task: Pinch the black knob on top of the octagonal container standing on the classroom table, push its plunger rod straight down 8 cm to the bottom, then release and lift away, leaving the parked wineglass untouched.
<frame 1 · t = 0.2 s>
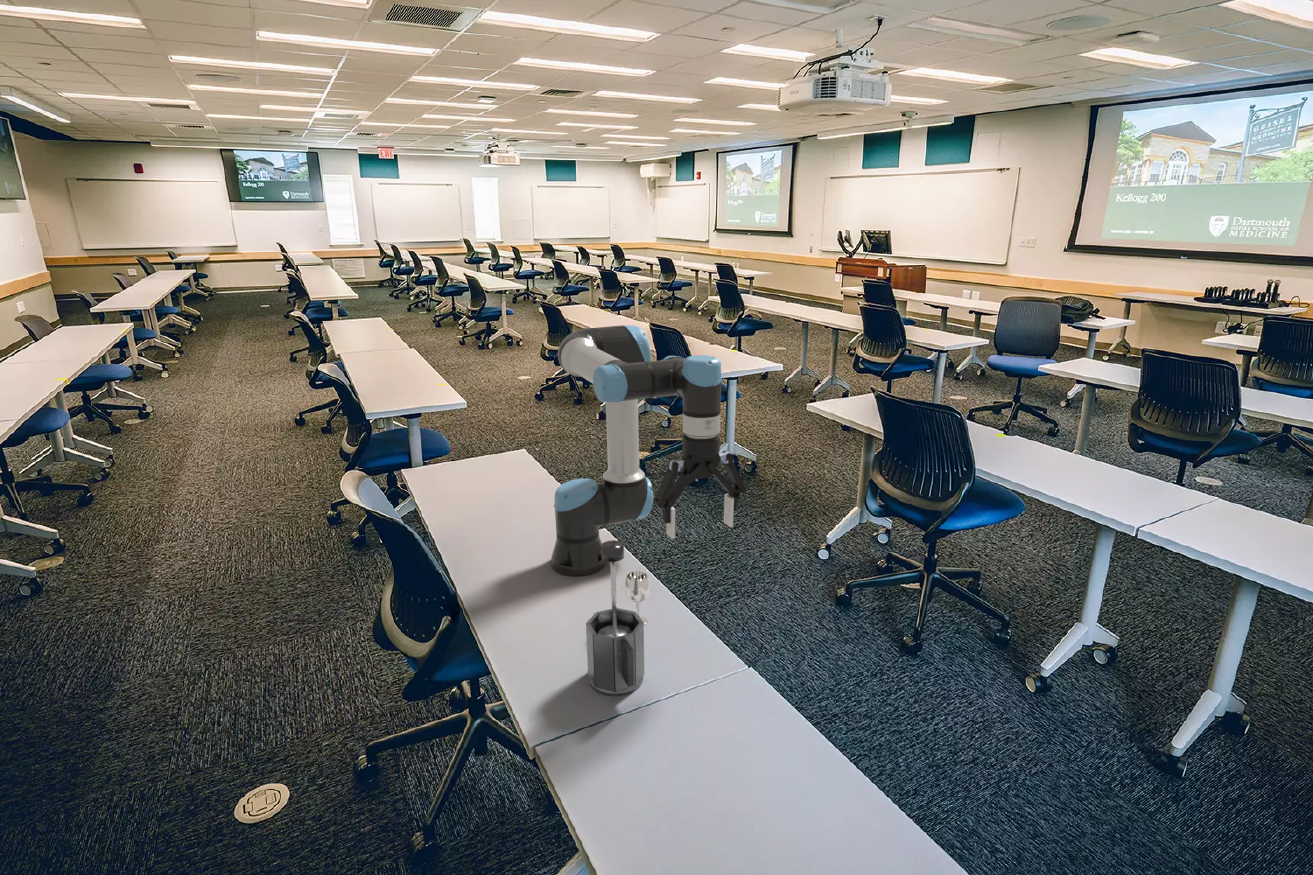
hand: (700, 530, 144), 28 cm above the table, fingers open, 13 cm apart
wineglass: (637, 622, 162), on the table
octagonal container: (616, 678, 142), on the table
plunger: (613, 592, 136), point 20 cm above the table, slide at 0.0 cm
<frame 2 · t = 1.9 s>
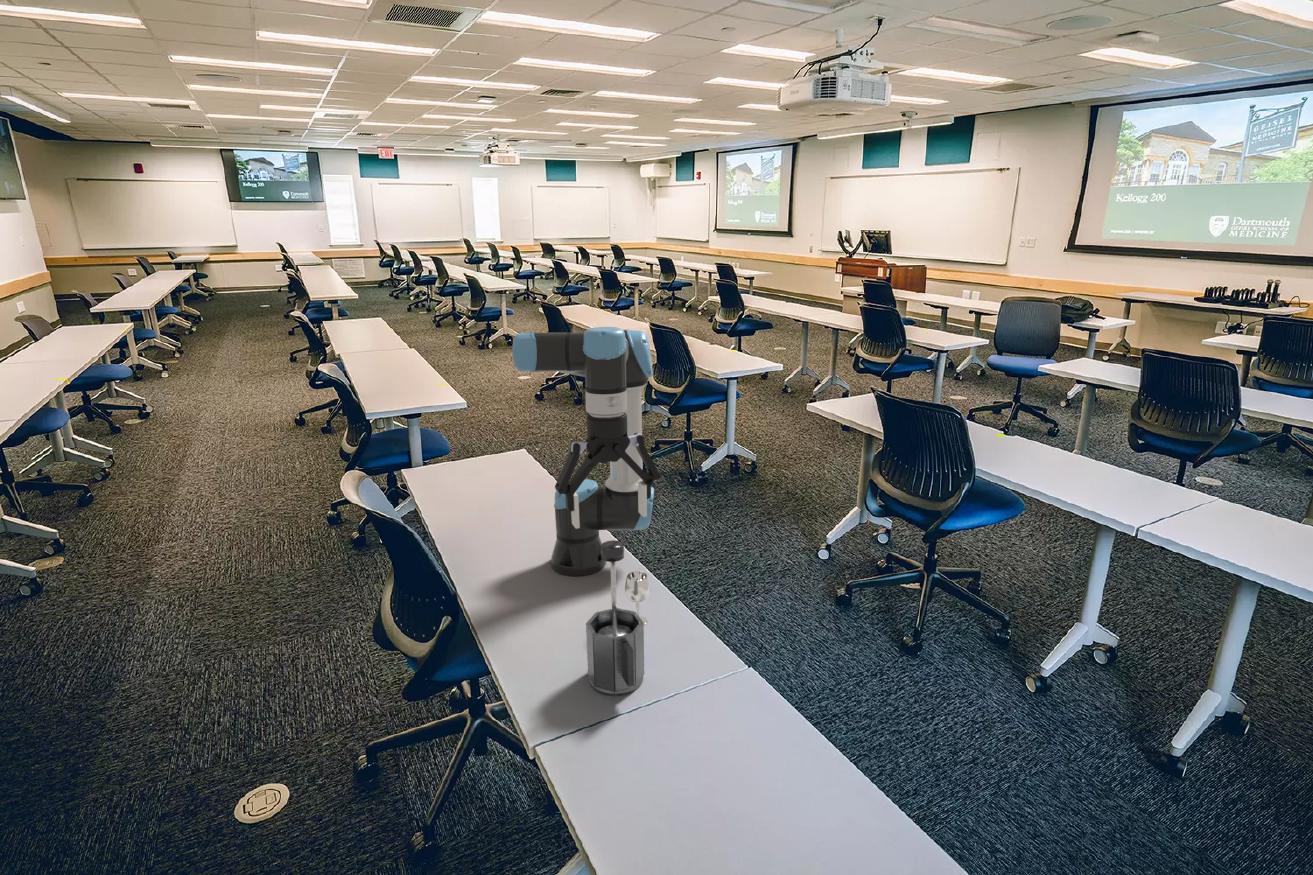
hand: (609, 520, 132), 35 cm above the table, fingers open, 13 cm apart
nothing on the table moved.
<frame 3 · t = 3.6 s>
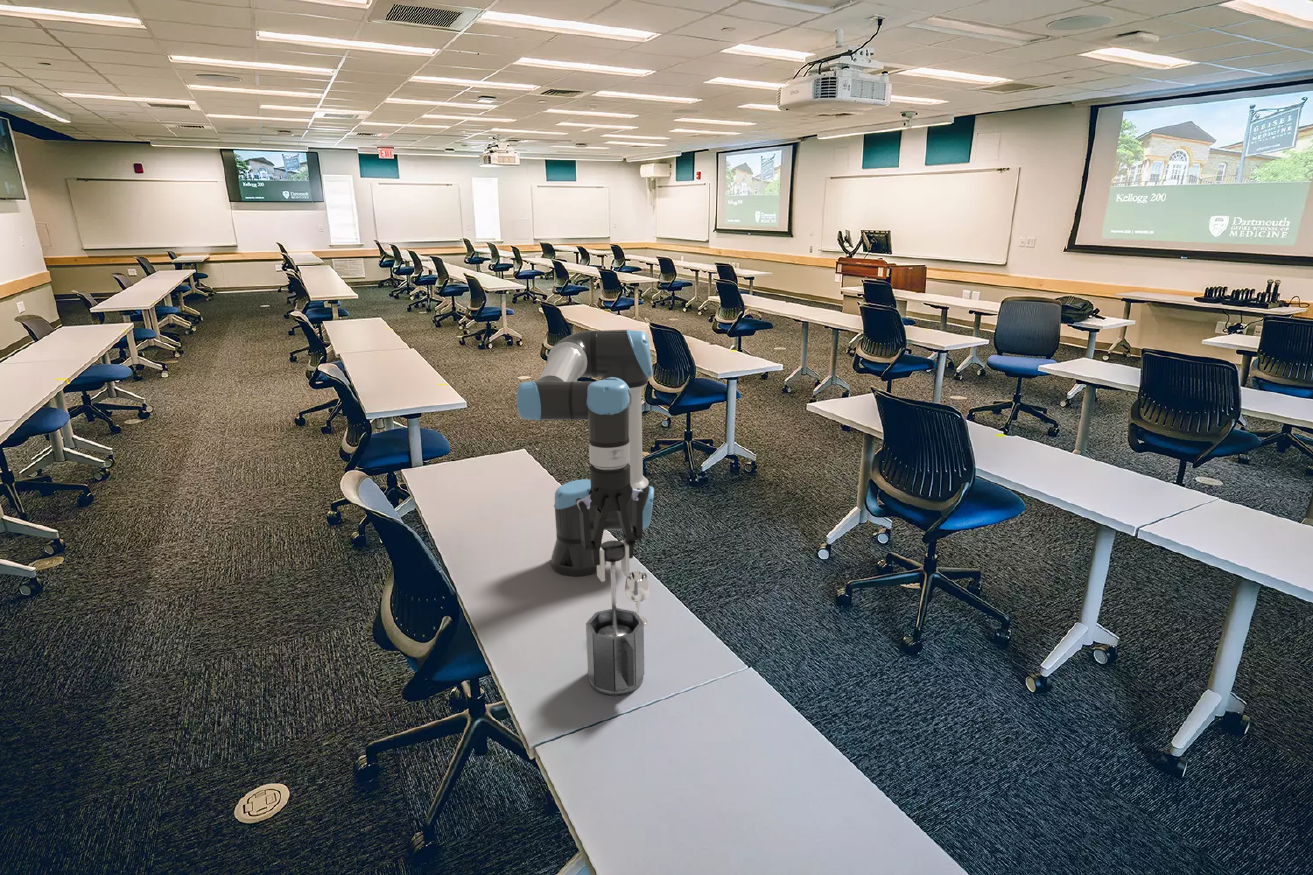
hand: (613, 575, 135), 24 cm above the table, fingers closed on plunger, 4 cm apart
plunger: (613, 592, 136), point 20 cm above the table, slide at 0.0 cm, touching gripper
everything else where it was.
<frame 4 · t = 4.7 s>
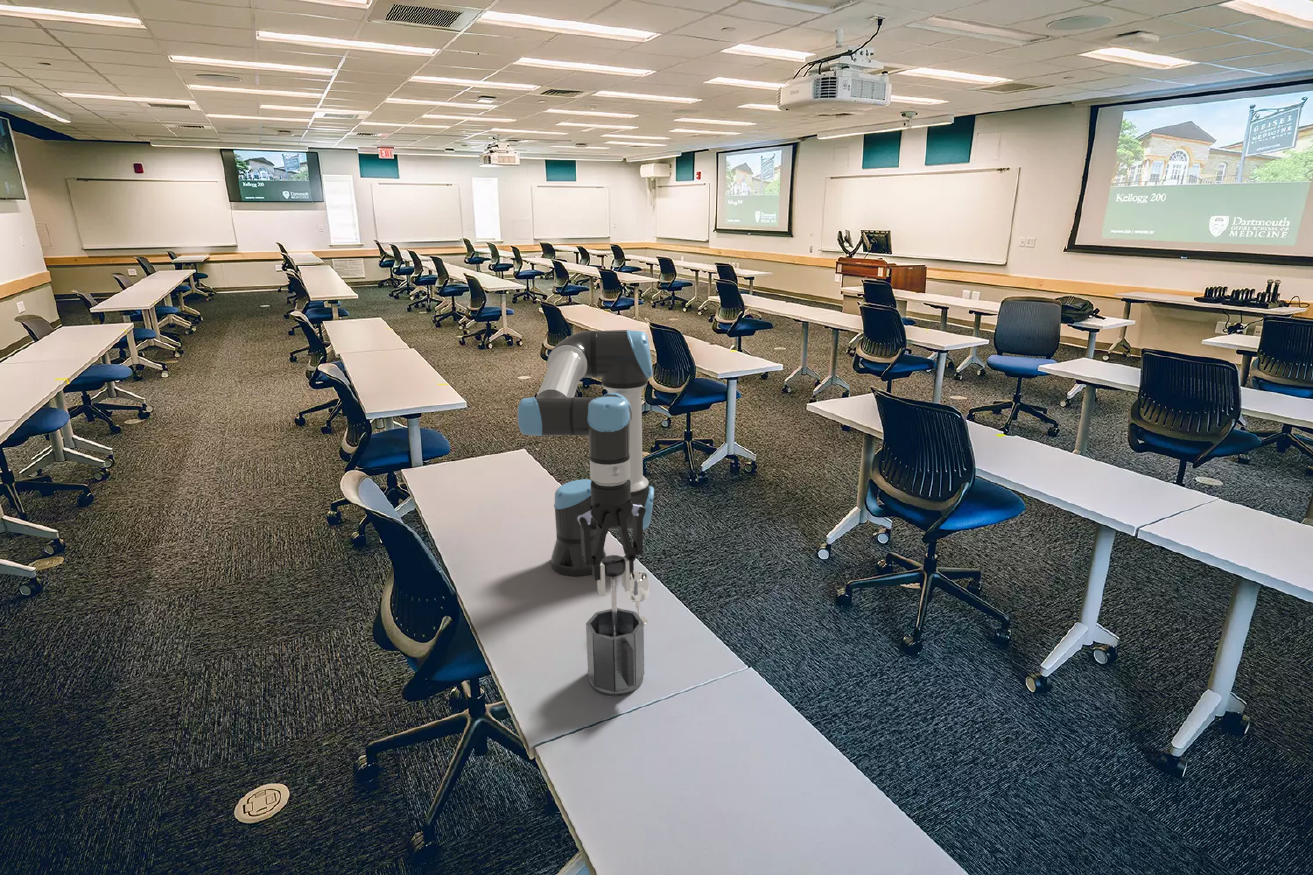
hand: (613, 590, 136), 20 cm above the table, fingers closed on plunger, 4 cm apart
plunger: (614, 606, 137), point 17 cm above the table, slide at 3.2 cm, touching gripper
everything else where it was.
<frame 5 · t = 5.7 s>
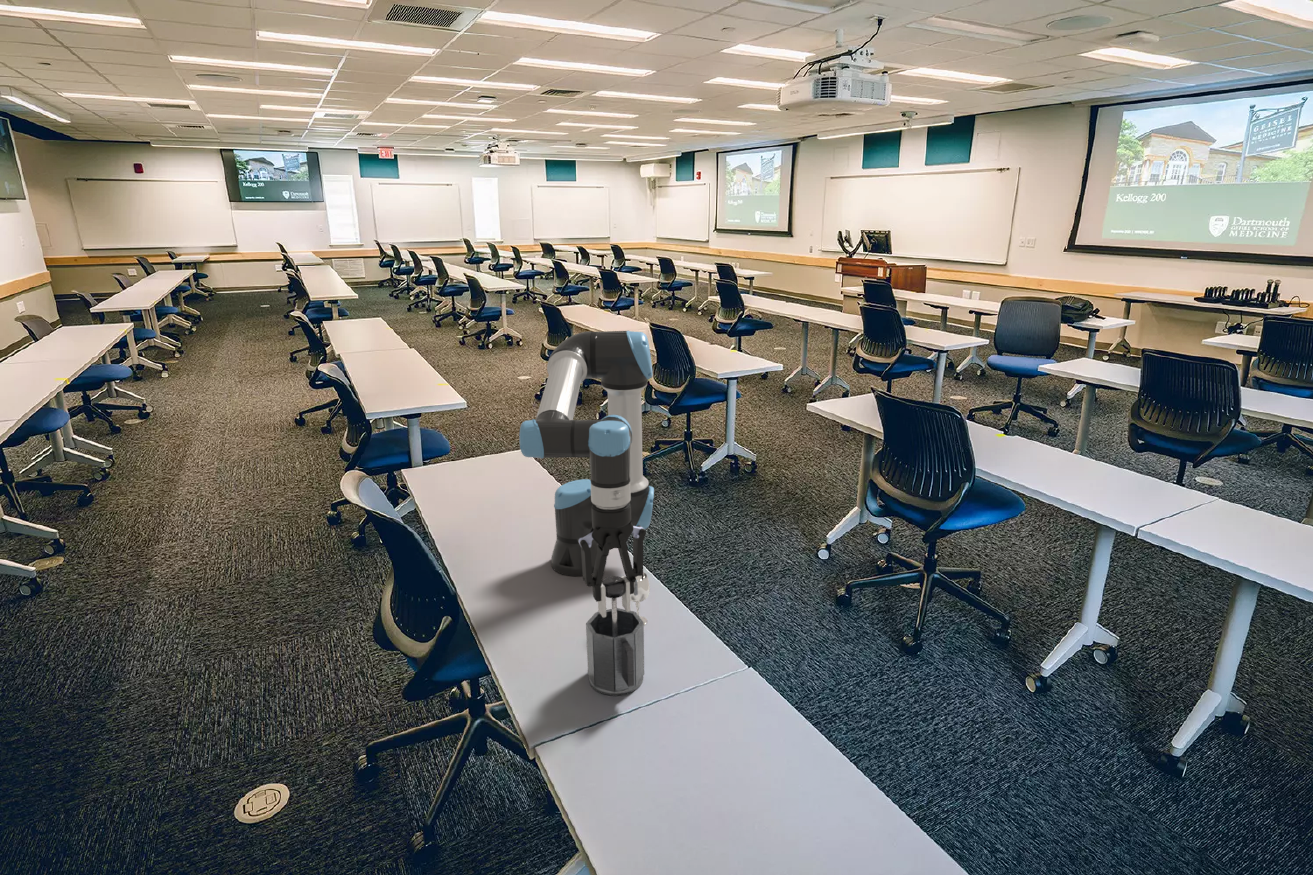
hand: (614, 610, 137), 16 cm above the table, fingers closed on plunger, 4 cm apart
plunger: (614, 627, 139), point 12 cm above the table, slide at 7.8 cm, touching gripper
everything else where it was.
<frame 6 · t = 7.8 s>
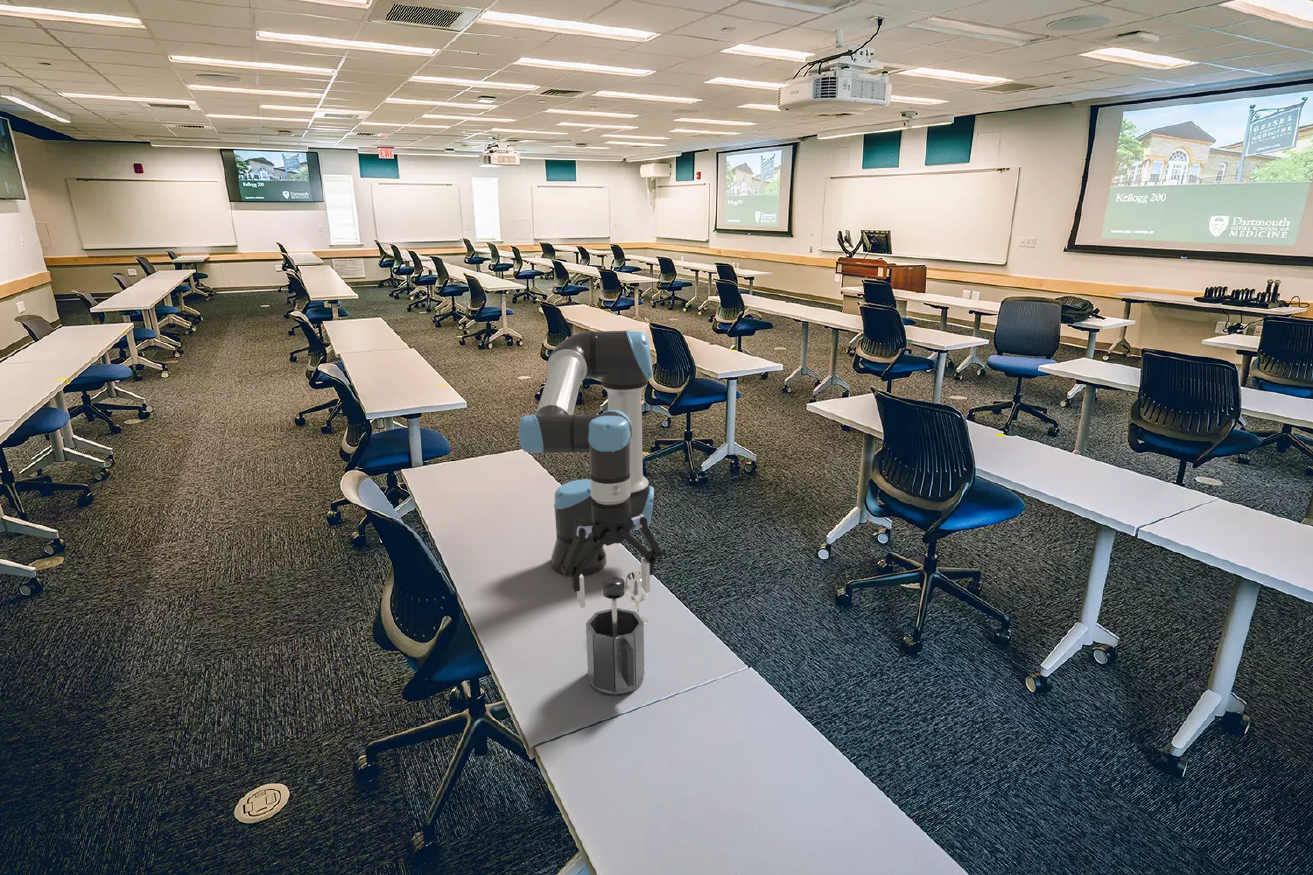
hand: (614, 596, 137), 19 cm above the table, fingers open, 13 cm apart
plunger: (614, 627, 139), point 12 cm above the table, slide at 8.0 cm
everything else where it was.
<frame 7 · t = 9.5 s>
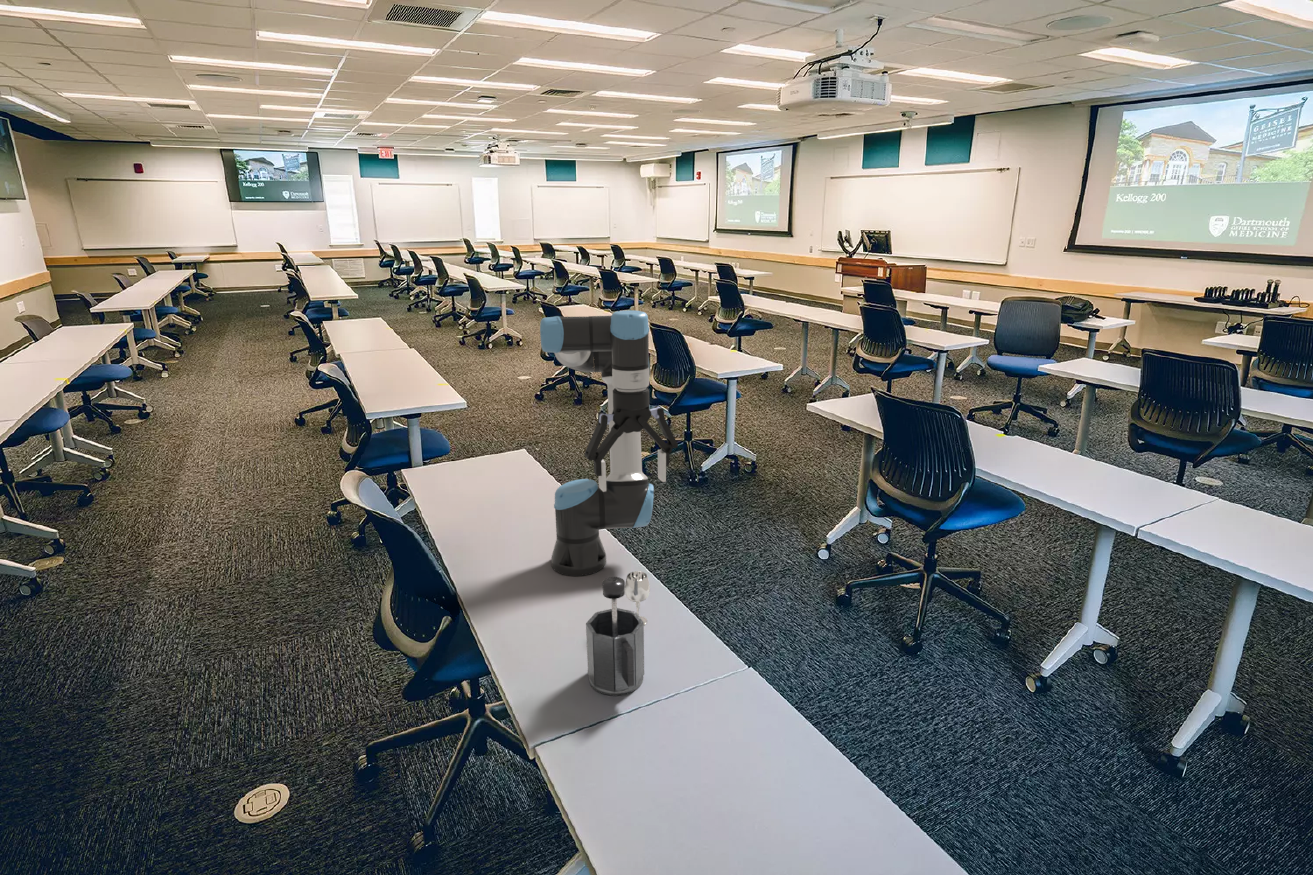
hand: (632, 484, 147), 36 cm above the table, fingers open, 13 cm apart
nothing on the table moved.
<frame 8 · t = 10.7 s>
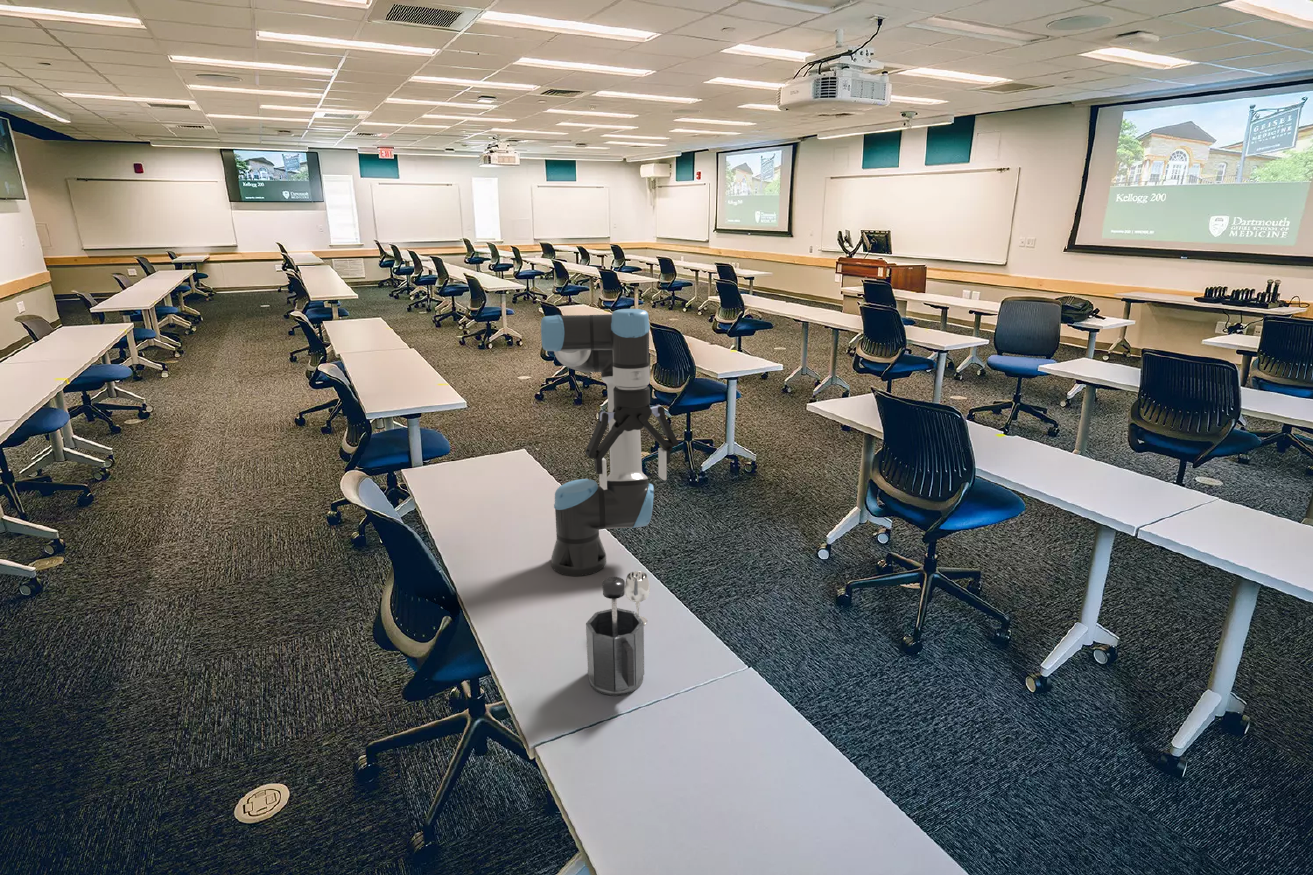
hand: (633, 482, 147), 37 cm above the table, fingers open, 13 cm apart
nothing on the table moved.
at the end: plunger slide at 8.0 cm; the gripper is holding nothing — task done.
